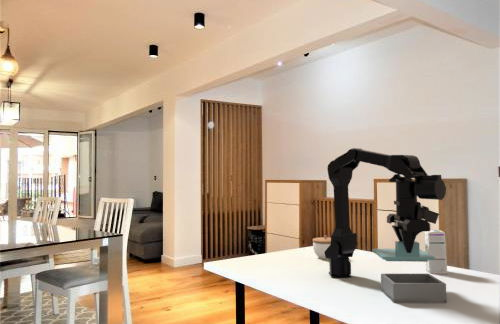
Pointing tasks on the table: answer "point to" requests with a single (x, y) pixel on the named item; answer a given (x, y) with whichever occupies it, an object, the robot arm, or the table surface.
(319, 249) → the lidded jar
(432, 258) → the lid
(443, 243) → the syrup box
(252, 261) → the table surface
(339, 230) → the robot arm
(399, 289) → the tub
